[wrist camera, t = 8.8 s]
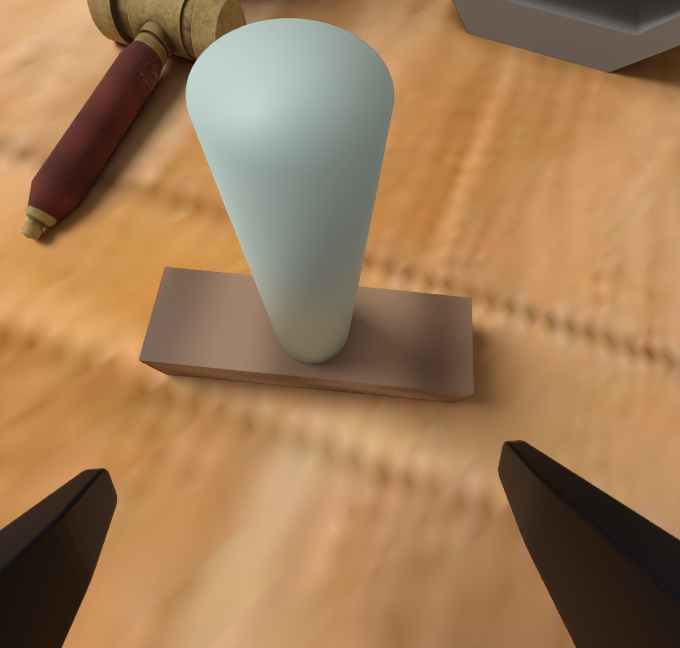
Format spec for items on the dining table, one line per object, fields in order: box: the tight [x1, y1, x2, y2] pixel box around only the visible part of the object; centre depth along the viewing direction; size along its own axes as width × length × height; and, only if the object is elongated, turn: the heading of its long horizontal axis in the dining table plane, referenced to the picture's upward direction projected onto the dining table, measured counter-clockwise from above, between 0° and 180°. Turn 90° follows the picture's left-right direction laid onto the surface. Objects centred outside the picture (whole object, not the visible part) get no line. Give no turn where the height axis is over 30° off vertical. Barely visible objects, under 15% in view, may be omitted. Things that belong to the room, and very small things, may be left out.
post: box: [186, 18, 394, 364], centre depth 13 cm, size 4×4×13 cm
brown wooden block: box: [139, 267, 474, 403], centre depth 20 cm, size 16×5×3 cm, turn 85°
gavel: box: [21, 0, 246, 239], centre depth 25 cm, size 21×5×10 cm
